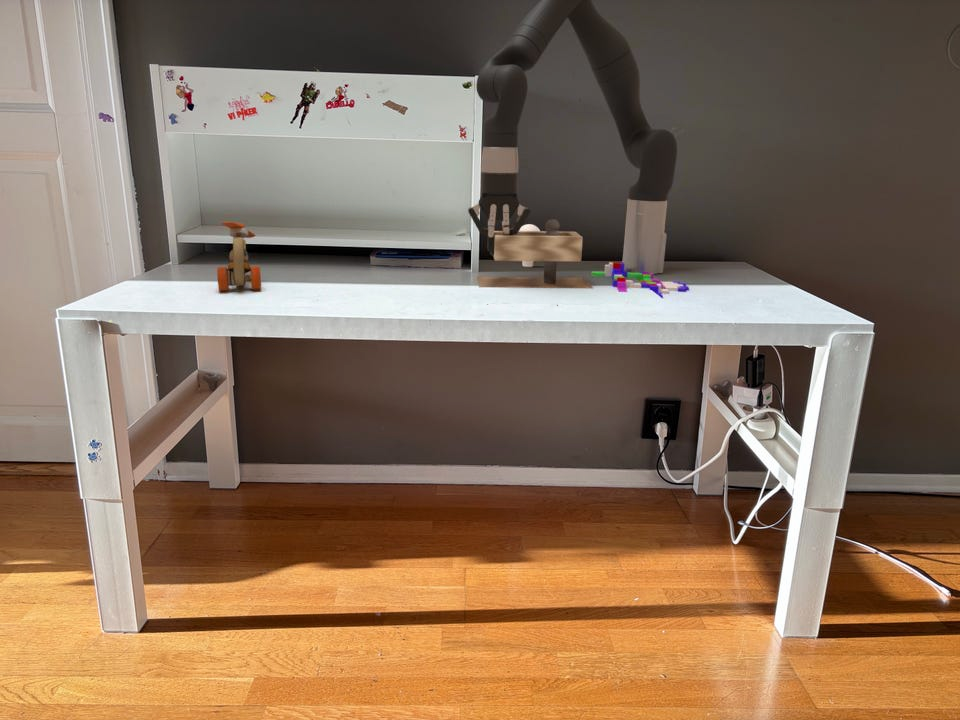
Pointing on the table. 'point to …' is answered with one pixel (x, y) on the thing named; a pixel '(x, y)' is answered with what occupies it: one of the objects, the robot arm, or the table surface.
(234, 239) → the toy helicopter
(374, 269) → the table surface
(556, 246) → the open wooden box
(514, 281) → the walnut post stand
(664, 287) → the building block set
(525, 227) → the lightbulb
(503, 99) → the robot arm
